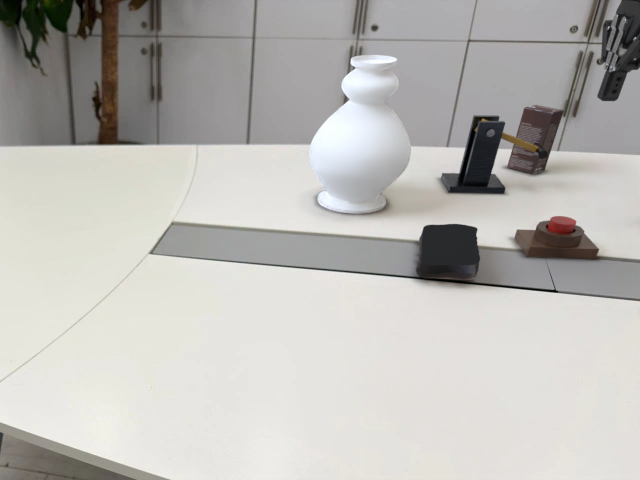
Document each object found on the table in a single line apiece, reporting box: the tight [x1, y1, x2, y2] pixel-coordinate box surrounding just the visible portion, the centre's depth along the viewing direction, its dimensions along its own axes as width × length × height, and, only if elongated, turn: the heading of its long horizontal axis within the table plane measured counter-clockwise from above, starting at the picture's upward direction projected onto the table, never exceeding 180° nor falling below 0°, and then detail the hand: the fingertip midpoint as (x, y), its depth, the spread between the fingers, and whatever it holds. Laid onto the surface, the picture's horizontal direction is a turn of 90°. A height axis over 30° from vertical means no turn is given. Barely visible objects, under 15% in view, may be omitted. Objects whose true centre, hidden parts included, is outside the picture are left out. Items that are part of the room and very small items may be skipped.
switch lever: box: [475, 119, 548, 159], centre depth 127 cm, size 13×5×2 cm, turn 81°
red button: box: [547, 215, 577, 234], centre depth 107 cm, size 4×4×2 cm
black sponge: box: [415, 223, 481, 281], centre depth 105 cm, size 16×8×4 cm, turn 159°
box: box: [507, 104, 565, 175], centre depth 136 cm, size 6×4×12 cm
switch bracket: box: [440, 114, 506, 195], centre depth 129 cm, size 10×8×13 cm
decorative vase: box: [308, 54, 412, 215], centre depth 122 cm, size 18×18×25 cm
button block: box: [514, 220, 600, 260], centre depth 108 cm, size 10×7×4 cm
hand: (606, 99), depth 96 cm, fingers closed
